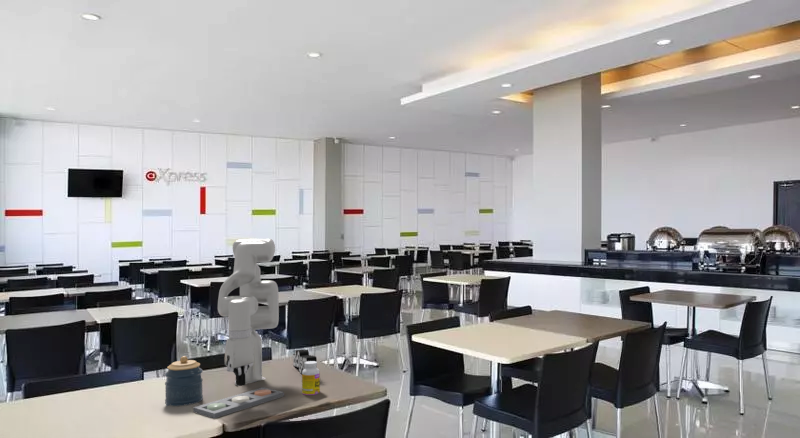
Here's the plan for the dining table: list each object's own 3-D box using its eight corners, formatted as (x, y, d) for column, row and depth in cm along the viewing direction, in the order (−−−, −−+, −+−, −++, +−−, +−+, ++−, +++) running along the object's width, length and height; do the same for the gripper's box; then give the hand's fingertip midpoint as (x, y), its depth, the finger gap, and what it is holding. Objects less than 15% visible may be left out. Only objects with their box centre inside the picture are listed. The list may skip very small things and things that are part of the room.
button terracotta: (251, 400, 207) (251, 392, 207) (264, 396, 212) (263, 388, 212) (261, 403, 204) (261, 394, 204) (274, 399, 209) (274, 391, 209)
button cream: (228, 407, 199) (228, 399, 199) (242, 403, 204) (242, 394, 204) (238, 410, 196) (238, 401, 196) (252, 406, 201) (252, 397, 201)
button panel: (214, 422, 184) (214, 413, 184) (193, 416, 192) (193, 407, 192) (284, 400, 208) (284, 392, 208) (263, 395, 216) (262, 387, 216)
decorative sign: (317, 375, 236) (316, 351, 237) (307, 376, 234) (306, 352, 236) (302, 370, 265) (301, 348, 266) (293, 371, 263) (292, 349, 265)
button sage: (203, 415, 191) (203, 406, 191) (218, 410, 196) (218, 401, 196) (214, 418, 188) (214, 409, 188) (229, 413, 193) (229, 404, 193)
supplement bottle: (316, 399, 209) (315, 364, 209) (299, 398, 210) (299, 364, 210) (322, 394, 215) (321, 360, 216) (306, 393, 217) (305, 360, 217)
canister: (210, 400, 209) (210, 353, 210) (186, 411, 197) (186, 361, 198) (182, 398, 214) (181, 351, 214) (157, 408, 201) (156, 359, 202)
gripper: (250, 329, 209) (250, 378, 209) (215, 336, 197) (216, 388, 197) (263, 331, 205) (264, 381, 205) (228, 339, 193) (229, 392, 193)
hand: (240, 384), depth 201 cm, fingers closed
